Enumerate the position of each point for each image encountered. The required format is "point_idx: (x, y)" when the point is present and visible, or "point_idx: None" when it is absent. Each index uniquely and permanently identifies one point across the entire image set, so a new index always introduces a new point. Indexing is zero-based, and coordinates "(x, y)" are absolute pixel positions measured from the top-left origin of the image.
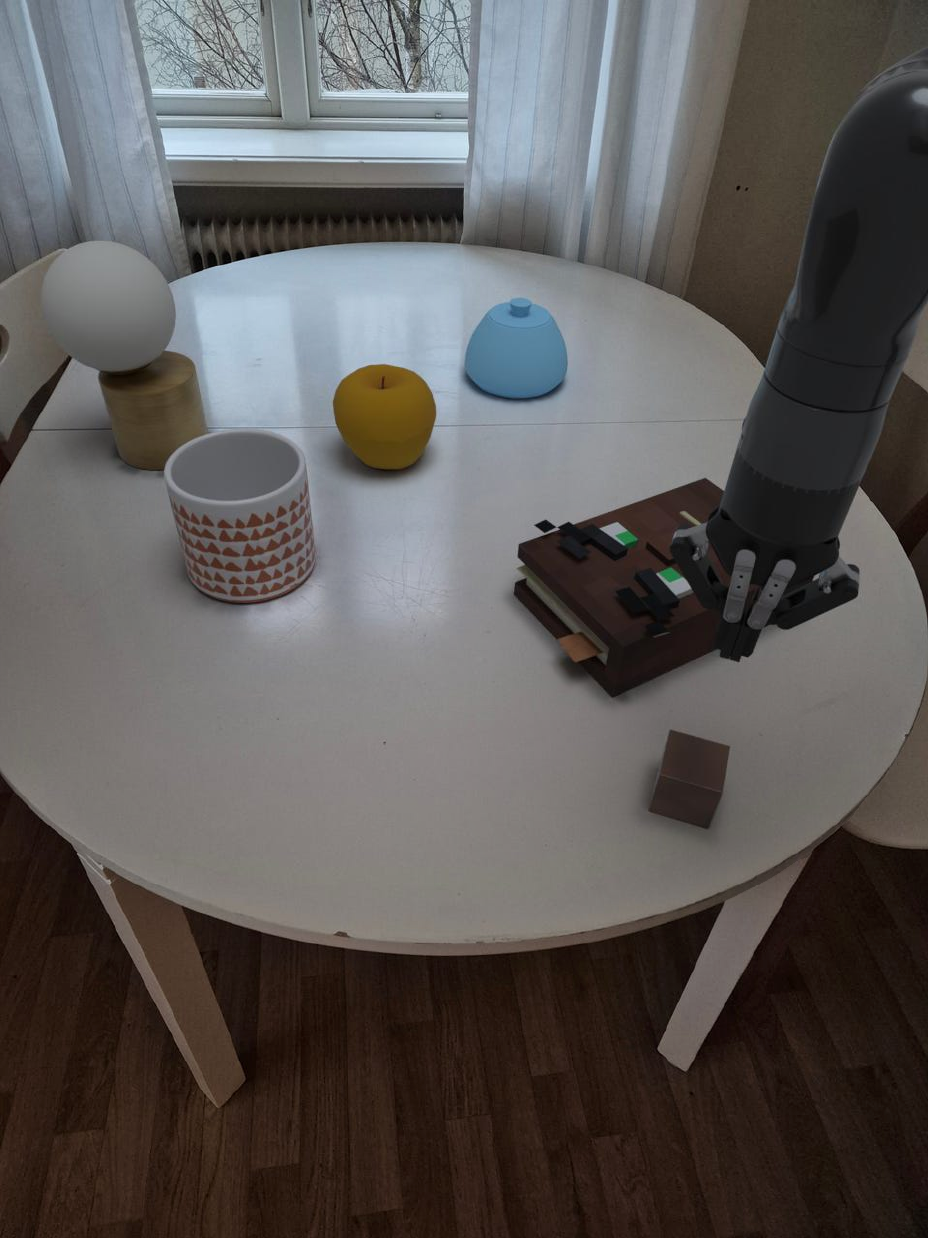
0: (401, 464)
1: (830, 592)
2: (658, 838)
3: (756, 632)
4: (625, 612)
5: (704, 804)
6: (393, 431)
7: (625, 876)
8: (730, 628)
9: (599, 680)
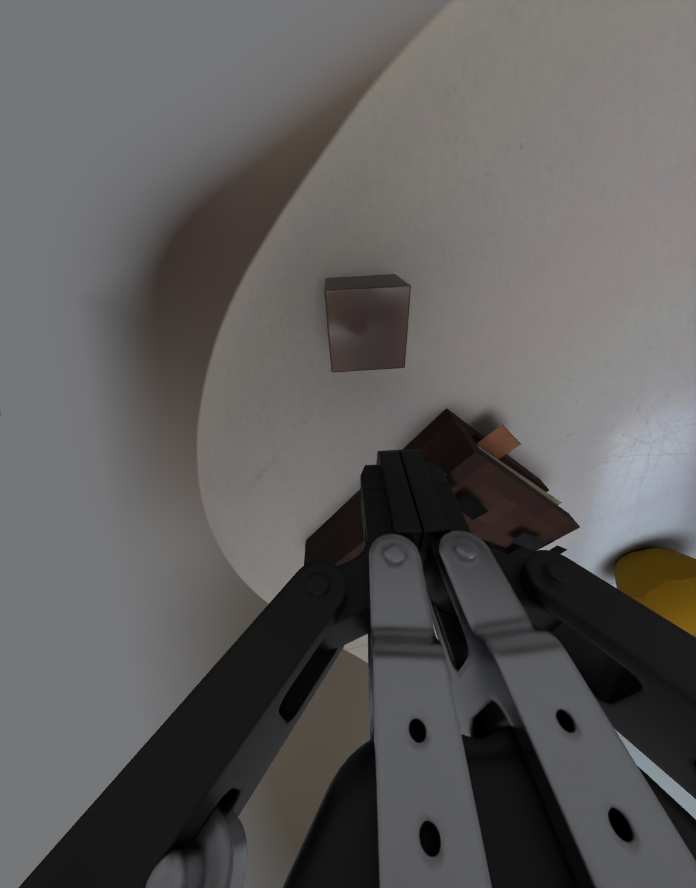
0: (639, 557)
1: (146, 882)
2: (378, 235)
3: (375, 524)
4: (472, 492)
5: (340, 283)
6: (686, 589)
7: (411, 140)
8: (441, 514)
9: (462, 421)
